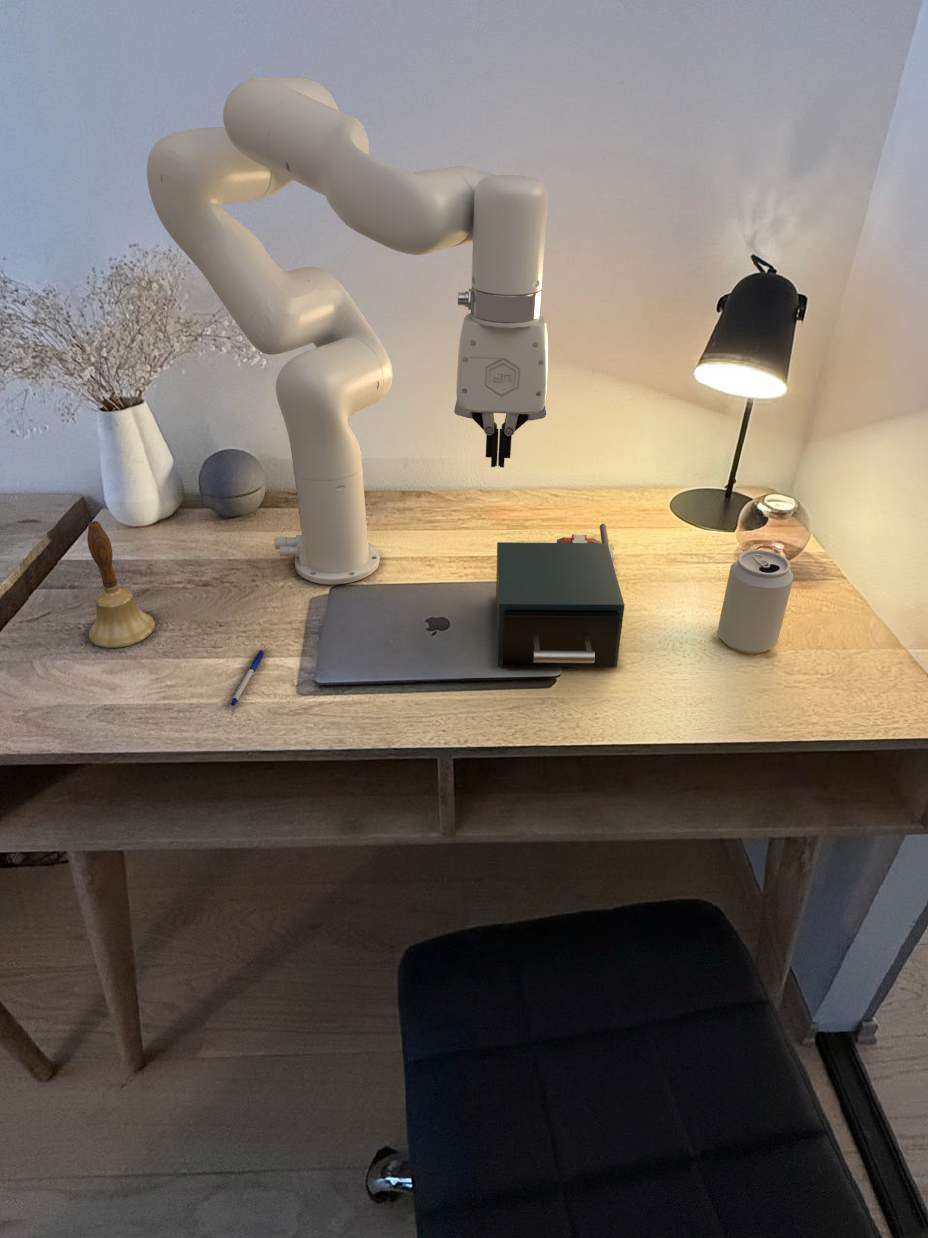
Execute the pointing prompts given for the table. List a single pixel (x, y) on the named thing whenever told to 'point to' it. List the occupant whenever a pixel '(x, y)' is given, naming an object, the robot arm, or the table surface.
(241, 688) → the ballpoint pen
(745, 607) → the can
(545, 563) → the drawer cabinet
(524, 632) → the open black drawer
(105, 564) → the hand bell
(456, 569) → the table surface
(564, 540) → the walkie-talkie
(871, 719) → the table surface
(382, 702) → the table surface
